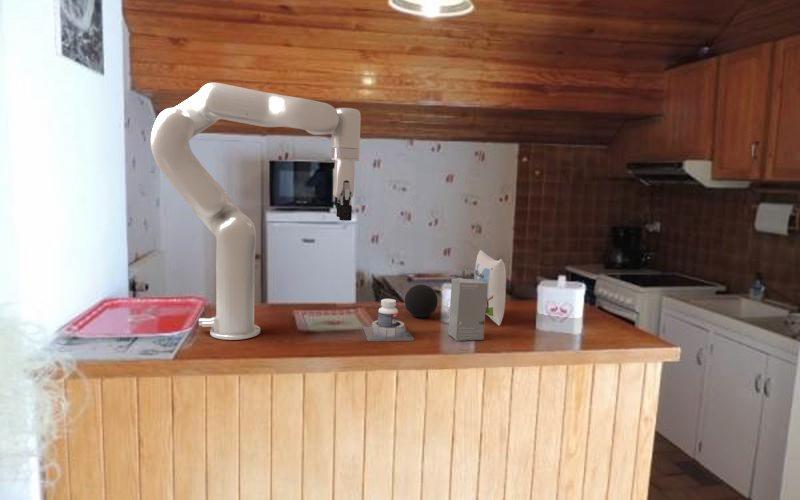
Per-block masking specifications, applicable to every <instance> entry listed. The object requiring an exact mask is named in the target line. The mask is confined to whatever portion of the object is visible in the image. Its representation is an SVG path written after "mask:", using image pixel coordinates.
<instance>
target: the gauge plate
mask: <svg viewBox="0 0 800 500" xmlns="http://www.w3.org/2000/svg"><path fill="white" fill-rule="evenodd" d="M405 325H406V324H405V323H404V322H403V321H401V320H397V326H396V327H383V326H379V325H378V319H377V320H374V321H372V323H371V326H363V328H362V329H363V331H364V334H365V337H366V338H367V341H368V342H398V341H399V342H404V341H405V342H406V341H407V342H410V341H411V342H412V341H413V342H414V341H415V338H414V336H413V335H412V333H411V332H410V331H409V329H408V328H407V326H405Z"/></svg>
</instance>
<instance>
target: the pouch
mask: <svg viewBox="0 0 800 500" xmlns="http://www.w3.org/2000/svg"><path fill="white" fill-rule="evenodd" d="M473 274H474V276H473V279H479V280H481V281H484V282H486V283H488V284H487V299H486V312H485V316H488V317H489V318H490V319H491V320H492V321H493V322H494V323H495V324H496V325H498V327H500V326H501V324H502V321H503V318H504V315H505V307H506V298H507V297H506V296H507V295H506V292H507V290H506V289H507V272H506V264H505V262H504V260H503V259H502V258H500V259H498V260H496V259H494V258H493V257H491V256H489V255H488V254H487V253H485V251H483V250H482V249H479V252H478V253H477V256H476V261H475V266H474V273H473Z"/></svg>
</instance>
